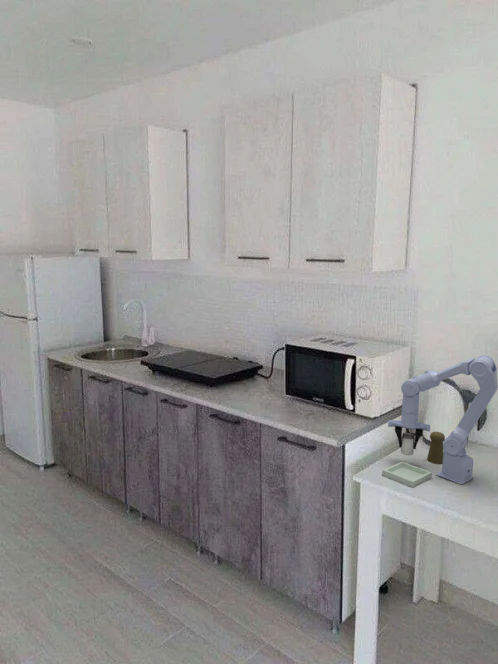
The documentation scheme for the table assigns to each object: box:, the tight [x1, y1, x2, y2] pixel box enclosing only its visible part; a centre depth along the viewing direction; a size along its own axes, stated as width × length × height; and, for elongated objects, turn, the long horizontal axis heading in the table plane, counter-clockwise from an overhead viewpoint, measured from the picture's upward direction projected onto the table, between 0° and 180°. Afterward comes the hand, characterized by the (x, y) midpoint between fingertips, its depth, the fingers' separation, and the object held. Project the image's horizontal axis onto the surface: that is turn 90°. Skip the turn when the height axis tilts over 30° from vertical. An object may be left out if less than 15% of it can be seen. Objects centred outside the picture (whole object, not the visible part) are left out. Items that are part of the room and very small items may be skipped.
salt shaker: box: [400, 432, 415, 456], centre depth 190 cm, size 4×4×7 cm
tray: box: [381, 460, 433, 488], centre depth 181 cm, size 12×12×2 cm
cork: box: [426, 431, 446, 465], centre depth 195 cm, size 6×6×11 cm
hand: (407, 447), depth 190 cm, fingers closed on salt shaker, 4 cm apart
